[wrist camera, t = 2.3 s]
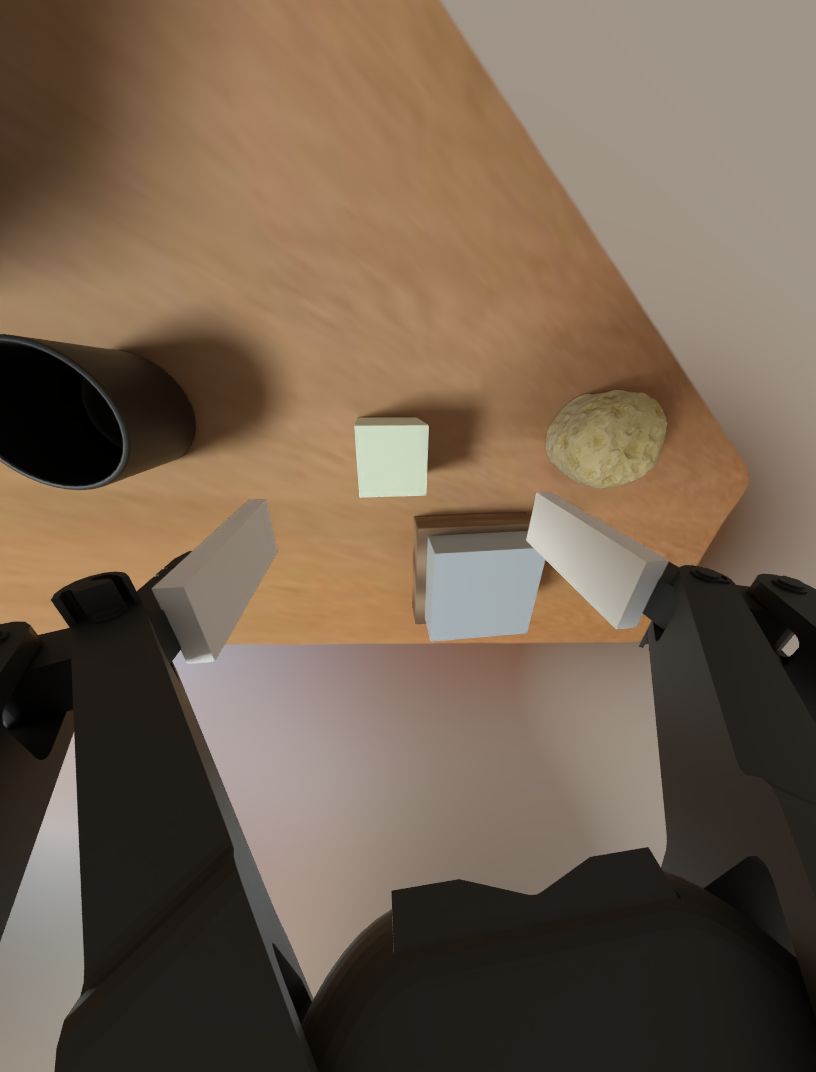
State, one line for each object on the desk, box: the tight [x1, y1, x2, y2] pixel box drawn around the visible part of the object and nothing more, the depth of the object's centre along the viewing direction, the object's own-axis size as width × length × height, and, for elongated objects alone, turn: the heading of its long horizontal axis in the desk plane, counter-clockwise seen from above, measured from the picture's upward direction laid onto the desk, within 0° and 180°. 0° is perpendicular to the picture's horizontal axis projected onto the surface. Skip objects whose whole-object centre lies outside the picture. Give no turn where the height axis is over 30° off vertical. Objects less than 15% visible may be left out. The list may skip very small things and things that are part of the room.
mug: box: [0, 334, 195, 490], centre depth 23 cm, size 9×12×9 cm
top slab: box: [425, 531, 545, 642], centre depth 34 cm, size 12×12×4 cm
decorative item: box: [546, 390, 668, 489], centre depth 30 cm, size 10×10×10 cm
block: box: [354, 417, 429, 497], centre depth 28 cm, size 6×6×7 cm
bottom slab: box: [412, 512, 531, 624], centre depth 38 cm, size 14×14×4 cm
